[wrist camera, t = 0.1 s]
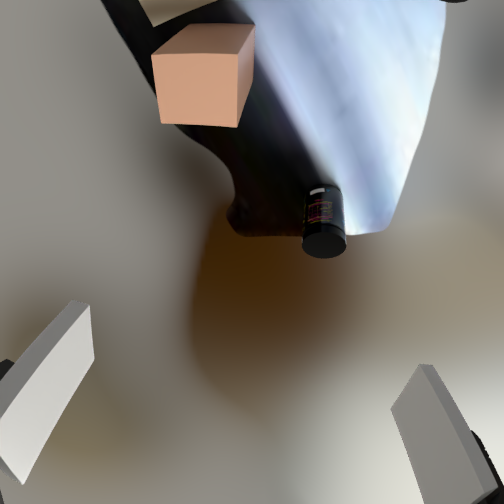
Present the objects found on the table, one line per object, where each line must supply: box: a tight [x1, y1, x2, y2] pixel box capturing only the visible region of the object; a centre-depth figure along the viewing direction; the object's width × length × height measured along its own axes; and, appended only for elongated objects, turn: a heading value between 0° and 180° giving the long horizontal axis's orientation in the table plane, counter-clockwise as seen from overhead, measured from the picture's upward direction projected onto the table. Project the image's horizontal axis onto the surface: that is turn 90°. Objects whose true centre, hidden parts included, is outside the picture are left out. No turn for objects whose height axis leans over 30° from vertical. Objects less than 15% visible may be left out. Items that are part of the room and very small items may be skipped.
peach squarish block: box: [151, 23, 255, 127], centre depth 30 cm, size 8×8×12 cm
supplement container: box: [302, 184, 346, 258], centre depth 49 cm, size 7×7×10 cm
